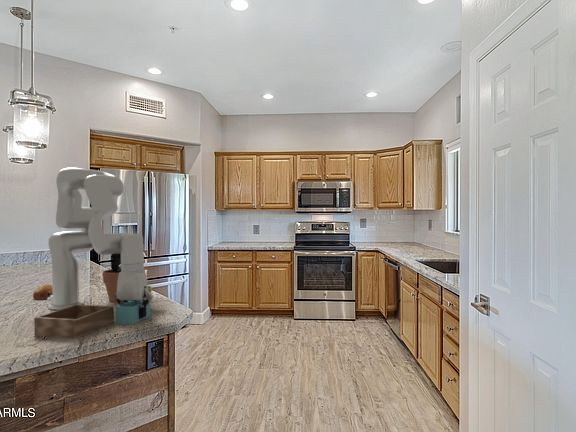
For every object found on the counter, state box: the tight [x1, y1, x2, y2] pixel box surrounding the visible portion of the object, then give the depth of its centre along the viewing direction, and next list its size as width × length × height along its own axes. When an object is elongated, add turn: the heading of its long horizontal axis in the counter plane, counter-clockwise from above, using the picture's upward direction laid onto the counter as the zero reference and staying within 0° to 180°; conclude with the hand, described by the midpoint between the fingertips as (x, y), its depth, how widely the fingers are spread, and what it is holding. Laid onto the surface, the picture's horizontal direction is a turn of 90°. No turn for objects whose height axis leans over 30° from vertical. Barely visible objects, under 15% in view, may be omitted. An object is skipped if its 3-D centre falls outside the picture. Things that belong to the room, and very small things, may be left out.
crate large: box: [33, 304, 115, 339], centre depth 115 cm, size 16×16×6 cm
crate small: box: [115, 300, 151, 326], centre depth 124 cm, size 7×10×6 cm, turn 167°
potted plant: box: [102, 253, 121, 303], centre depth 155 cm, size 14×14×25 cm
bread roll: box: [32, 284, 53, 301], centre depth 162 cm, size 10×10×8 cm
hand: (133, 316), depth 124 cm, fingers closed on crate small, 6 cm apart
